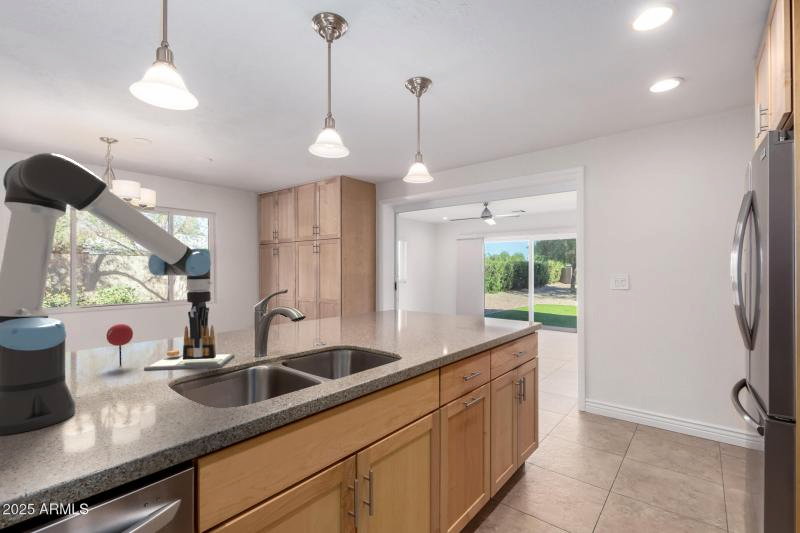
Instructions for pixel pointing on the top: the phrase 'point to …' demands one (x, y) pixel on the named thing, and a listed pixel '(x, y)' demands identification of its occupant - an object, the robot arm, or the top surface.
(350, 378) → the top surface
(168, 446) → the top surface
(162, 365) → the board
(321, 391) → the top surface
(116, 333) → the lollipop
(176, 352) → the button
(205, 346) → the ammunition clip
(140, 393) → the top surface
